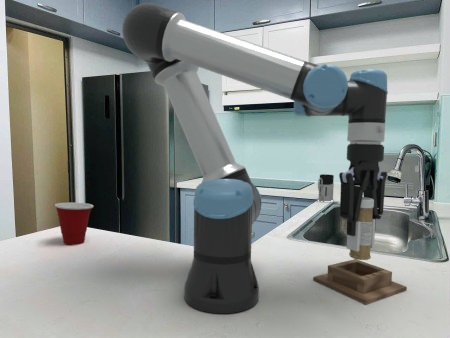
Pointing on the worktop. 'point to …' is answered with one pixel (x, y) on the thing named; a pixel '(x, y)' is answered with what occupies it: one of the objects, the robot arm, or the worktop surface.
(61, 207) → the plastic cup
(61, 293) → the worktop surface
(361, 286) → the walnut socket block
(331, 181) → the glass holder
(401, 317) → the worktop surface
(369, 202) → the sprinkles bottle
